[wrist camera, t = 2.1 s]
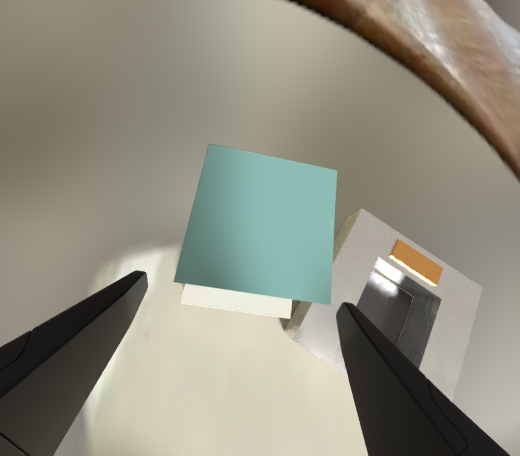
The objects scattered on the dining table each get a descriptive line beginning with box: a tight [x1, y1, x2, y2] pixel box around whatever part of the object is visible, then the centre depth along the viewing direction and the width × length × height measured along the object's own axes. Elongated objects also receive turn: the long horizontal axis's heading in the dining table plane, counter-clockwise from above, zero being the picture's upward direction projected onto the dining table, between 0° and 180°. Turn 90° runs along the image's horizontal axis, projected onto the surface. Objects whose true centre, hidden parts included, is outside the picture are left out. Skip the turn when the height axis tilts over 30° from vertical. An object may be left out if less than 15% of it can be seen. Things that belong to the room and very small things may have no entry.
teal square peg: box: [174, 144, 337, 305], centre depth 12 cm, size 5×5×11 cm
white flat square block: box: [180, 284, 292, 319], centre depth 19 cm, size 9×9×3 cm
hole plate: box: [284, 209, 483, 402], centre depth 19 cm, size 14×14×3 cm
